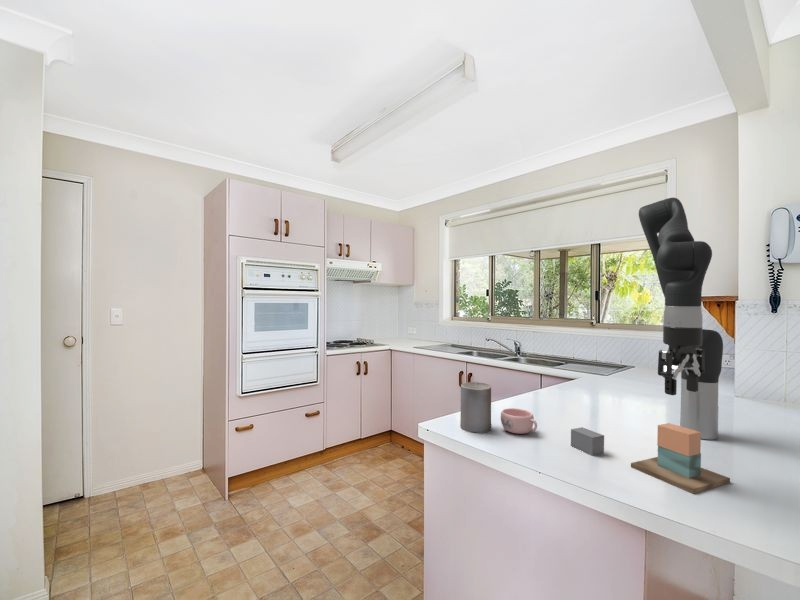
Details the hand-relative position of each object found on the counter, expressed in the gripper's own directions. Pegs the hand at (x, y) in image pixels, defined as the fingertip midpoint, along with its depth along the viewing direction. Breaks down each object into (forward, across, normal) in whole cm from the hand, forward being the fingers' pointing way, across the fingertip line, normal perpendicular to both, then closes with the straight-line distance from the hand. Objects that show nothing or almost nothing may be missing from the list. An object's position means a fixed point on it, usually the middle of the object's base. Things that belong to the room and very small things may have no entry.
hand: (681, 392), depth 90 cm
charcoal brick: (+20, +8, -19) cm, 29 cm away
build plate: (+20, 0, 0) cm, 20 cm away
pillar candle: (+20, +27, -46) cm, 56 cm away
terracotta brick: (+14, 0, 0) cm, 14 cm away
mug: (+20, +16, -37) cm, 45 cm away
